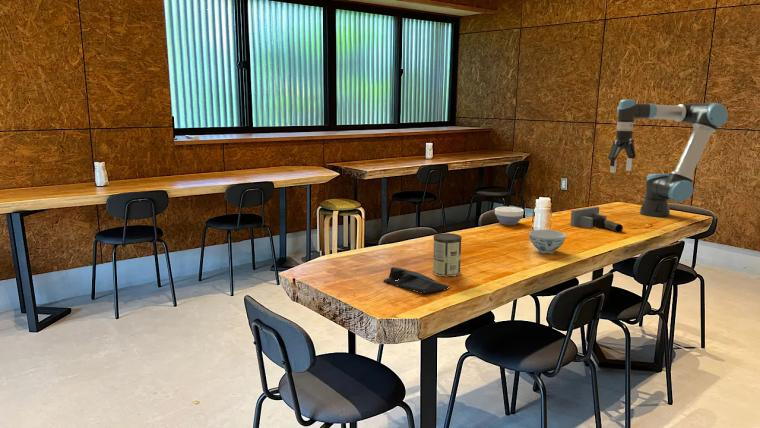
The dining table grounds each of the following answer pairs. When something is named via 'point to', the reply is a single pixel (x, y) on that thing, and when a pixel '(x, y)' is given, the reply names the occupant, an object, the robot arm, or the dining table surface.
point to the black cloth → (414, 281)
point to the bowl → (509, 215)
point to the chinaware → (546, 240)
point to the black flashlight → (606, 224)
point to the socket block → (585, 216)
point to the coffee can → (447, 254)
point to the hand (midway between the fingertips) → (620, 171)
